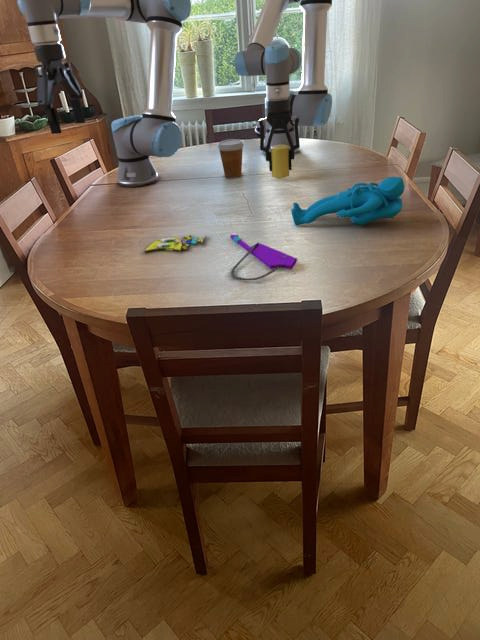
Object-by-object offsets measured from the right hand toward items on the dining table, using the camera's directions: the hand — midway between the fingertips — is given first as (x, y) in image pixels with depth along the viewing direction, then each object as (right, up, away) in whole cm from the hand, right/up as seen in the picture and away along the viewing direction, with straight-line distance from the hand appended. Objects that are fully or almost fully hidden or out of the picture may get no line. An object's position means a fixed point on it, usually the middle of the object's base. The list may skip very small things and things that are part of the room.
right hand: (280, 169), depth 170 cm
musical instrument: (-12, -39, -51) cm, 66 cm away
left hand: (-64, +2, -30) cm, 71 cm away
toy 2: (+15, -26, -36) cm, 47 cm away
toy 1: (-32, -33, -39) cm, 60 cm away
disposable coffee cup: (-17, +1, +11) cm, 20 cm away
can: (0, -2, +1) cm, 2 cm away
